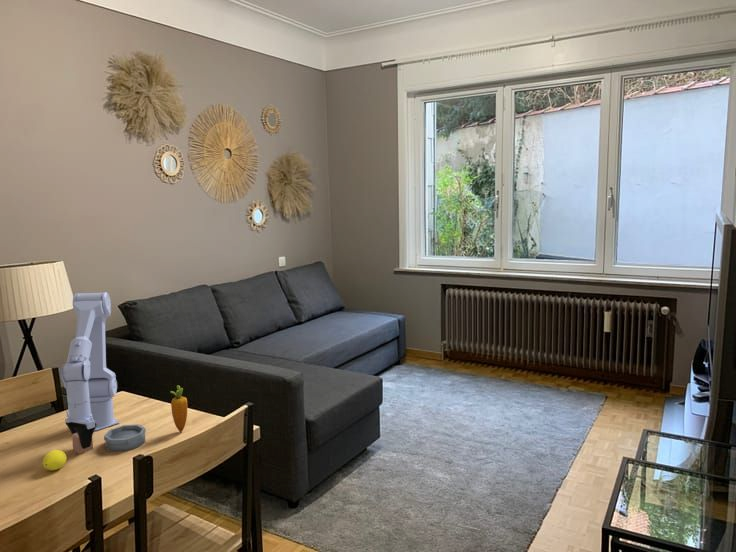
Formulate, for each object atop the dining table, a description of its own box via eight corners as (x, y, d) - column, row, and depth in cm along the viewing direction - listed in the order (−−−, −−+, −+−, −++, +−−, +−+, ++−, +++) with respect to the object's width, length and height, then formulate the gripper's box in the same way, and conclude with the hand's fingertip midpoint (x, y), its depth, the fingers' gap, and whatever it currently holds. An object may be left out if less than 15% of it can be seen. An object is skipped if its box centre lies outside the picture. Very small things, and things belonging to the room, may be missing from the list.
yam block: (73, 450, 162) (71, 434, 161) (87, 445, 165) (85, 429, 164) (79, 454, 159) (77, 437, 158) (93, 449, 162) (91, 433, 161)
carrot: (184, 435, 171) (181, 390, 168) (169, 434, 172) (166, 389, 169) (192, 429, 175) (189, 384, 173) (178, 428, 176) (175, 383, 174)
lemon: (54, 465, 154) (53, 446, 154) (72, 465, 153) (71, 446, 153) (36, 474, 147) (36, 454, 147) (55, 475, 146) (55, 455, 146)
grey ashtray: (99, 444, 165) (98, 433, 165) (134, 432, 173) (133, 421, 173) (116, 455, 158) (115, 443, 158) (152, 441, 166) (151, 430, 166)
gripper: (54, 399, 161) (58, 443, 163) (75, 411, 152) (79, 457, 154) (78, 393, 167) (82, 434, 169) (100, 404, 157) (104, 448, 159)
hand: (82, 445), depth 162 cm, fingers closed on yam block, 4 cm apart
